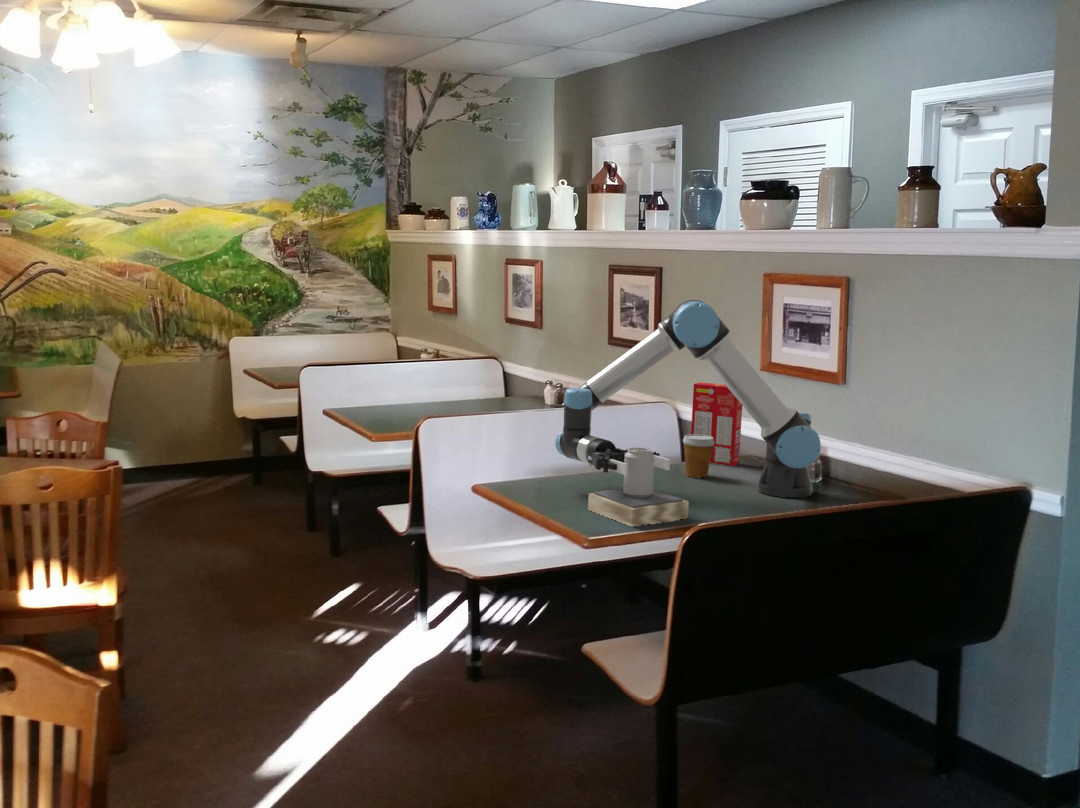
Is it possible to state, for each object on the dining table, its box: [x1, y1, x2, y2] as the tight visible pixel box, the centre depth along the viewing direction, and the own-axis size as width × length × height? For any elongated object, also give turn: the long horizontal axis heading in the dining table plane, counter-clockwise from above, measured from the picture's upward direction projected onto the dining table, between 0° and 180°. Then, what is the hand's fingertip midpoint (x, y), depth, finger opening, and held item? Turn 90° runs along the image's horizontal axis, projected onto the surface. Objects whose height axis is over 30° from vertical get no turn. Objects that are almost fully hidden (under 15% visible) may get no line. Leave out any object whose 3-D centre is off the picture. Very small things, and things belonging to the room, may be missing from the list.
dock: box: [587, 488, 690, 528], centre depth 266 cm, size 18×18×5 cm
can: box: [622, 446, 655, 498], centre depth 265 cm, size 8×8×12 cm
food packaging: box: [690, 381, 743, 467], centre depth 336 cm, size 15×5×25 cm, turn 61°
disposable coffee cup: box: [682, 433, 715, 478], centre depth 314 cm, size 10×10×12 cm
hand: (648, 467), depth 262 cm, fingers open, 13 cm apart
